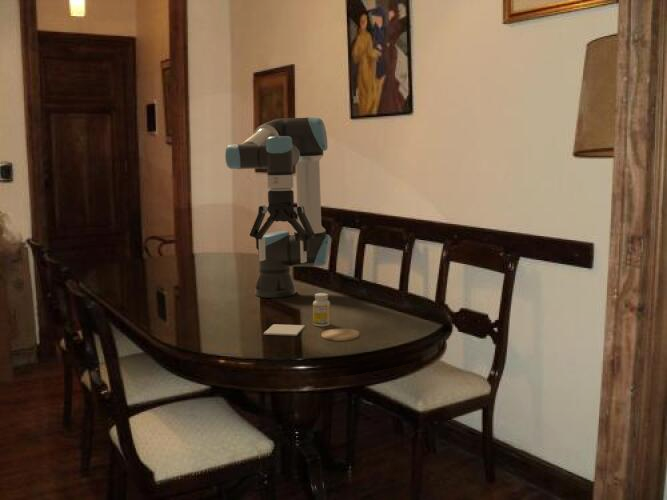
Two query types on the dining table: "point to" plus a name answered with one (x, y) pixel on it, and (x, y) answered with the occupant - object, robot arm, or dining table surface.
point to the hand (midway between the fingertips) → (282, 261)
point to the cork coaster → (340, 334)
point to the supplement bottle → (321, 310)
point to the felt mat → (284, 330)
